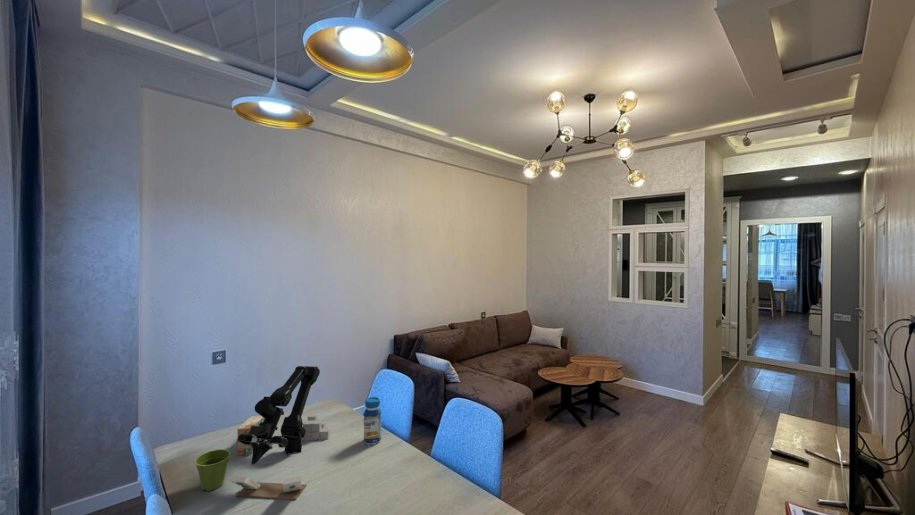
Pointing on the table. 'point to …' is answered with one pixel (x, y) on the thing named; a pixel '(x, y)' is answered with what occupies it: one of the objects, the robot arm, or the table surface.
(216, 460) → the plant pot
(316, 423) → the puzzle cube
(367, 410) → the beverage bottle
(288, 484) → the tile
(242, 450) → the stack of blocks
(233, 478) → the tile
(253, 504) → the table surface
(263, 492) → the tile board
